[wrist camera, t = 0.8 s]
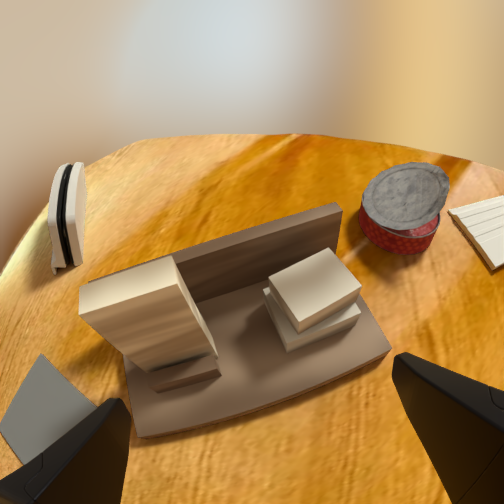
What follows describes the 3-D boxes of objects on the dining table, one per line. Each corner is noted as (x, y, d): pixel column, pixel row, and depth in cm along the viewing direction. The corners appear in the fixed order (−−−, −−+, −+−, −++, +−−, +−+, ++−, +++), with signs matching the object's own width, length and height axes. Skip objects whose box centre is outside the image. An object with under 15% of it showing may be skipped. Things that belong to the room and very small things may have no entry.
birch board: (218, 357, 23) (176, 283, 15) (152, 377, 22) (78, 314, 14) (212, 337, 24) (171, 255, 16) (148, 356, 24) (79, 286, 15)
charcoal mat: (60, 503, 15) (57, 503, 14) (0, 428, 19) (-3, 427, 18) (111, 418, 21) (108, 417, 21) (43, 355, 25) (40, 353, 25)
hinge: (63, 204, 43) (56, 152, 36) (88, 201, 45) (83, 149, 38) (53, 277, 33) (34, 217, 26) (85, 273, 35) (71, 212, 28)
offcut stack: (357, 323, 24) (369, 297, 20) (286, 353, 23) (286, 331, 19) (329, 276, 27) (334, 245, 24) (263, 300, 26) (259, 271, 23)
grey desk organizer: (386, 354, 23) (418, 314, 17) (145, 439, 20) (97, 426, 14) (328, 256, 30) (335, 201, 25) (125, 323, 28) (88, 281, 22)
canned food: (408, 278, 33) (426, 262, 24) (344, 235, 37) (339, 206, 28) (447, 208, 33) (469, 173, 24) (385, 170, 37) (390, 127, 28)
